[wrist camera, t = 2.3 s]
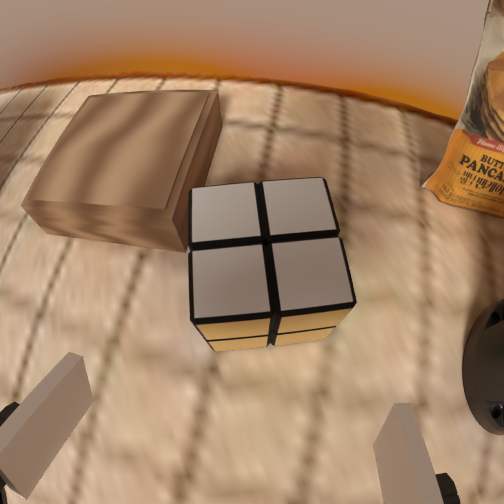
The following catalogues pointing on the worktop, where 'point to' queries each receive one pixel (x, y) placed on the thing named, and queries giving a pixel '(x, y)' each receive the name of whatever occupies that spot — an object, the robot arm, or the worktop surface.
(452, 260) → the worktop surface
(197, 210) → the puzzle cube
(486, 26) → the pancake mix bag
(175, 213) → the block
